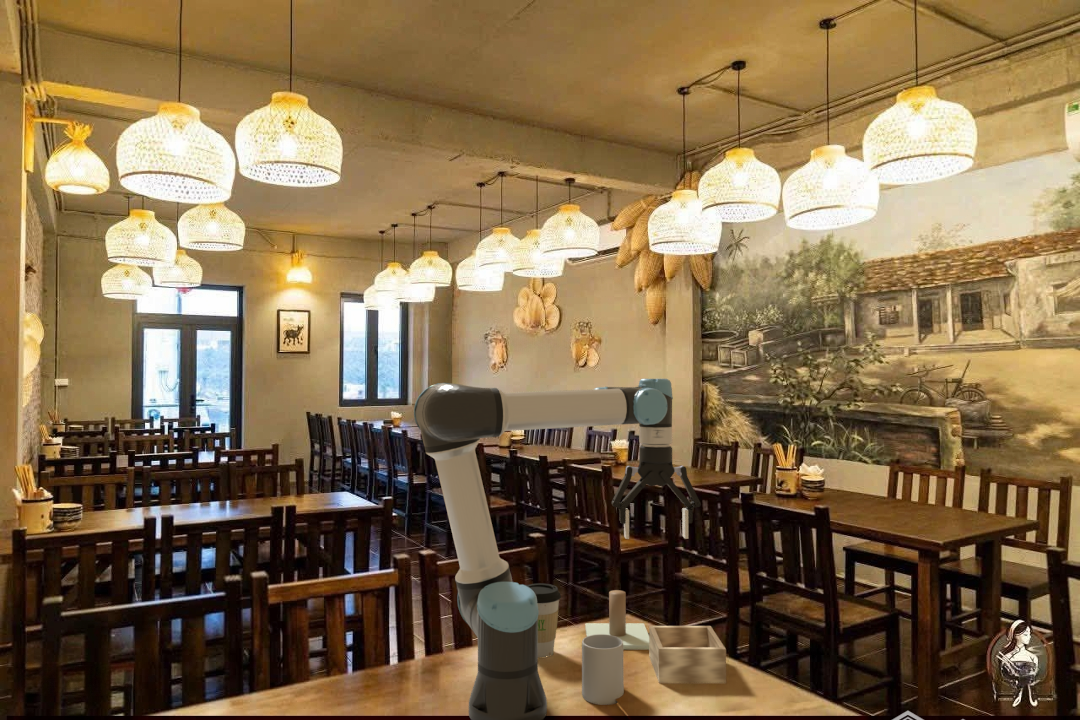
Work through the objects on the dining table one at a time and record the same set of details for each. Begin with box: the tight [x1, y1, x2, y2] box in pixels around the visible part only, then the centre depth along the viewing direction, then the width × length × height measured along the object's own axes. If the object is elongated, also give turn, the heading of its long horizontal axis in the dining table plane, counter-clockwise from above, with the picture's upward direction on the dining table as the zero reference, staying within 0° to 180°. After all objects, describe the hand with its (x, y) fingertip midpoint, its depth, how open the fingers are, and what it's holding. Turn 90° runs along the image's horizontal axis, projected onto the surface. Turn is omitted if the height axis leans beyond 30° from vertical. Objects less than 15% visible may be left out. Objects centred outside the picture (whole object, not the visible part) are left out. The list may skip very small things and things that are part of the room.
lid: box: [584, 589, 649, 651], centre depth 175 cm, size 15×15×12 cm
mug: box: [581, 634, 625, 706], centre depth 147 cm, size 12×8×11 cm
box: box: [648, 625, 727, 684], centre depth 156 cm, size 14×14×8 cm
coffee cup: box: [525, 582, 562, 658], centre depth 168 cm, size 10×10×15 cm
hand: (656, 537), depth 164 cm, fingers open, 13 cm apart
